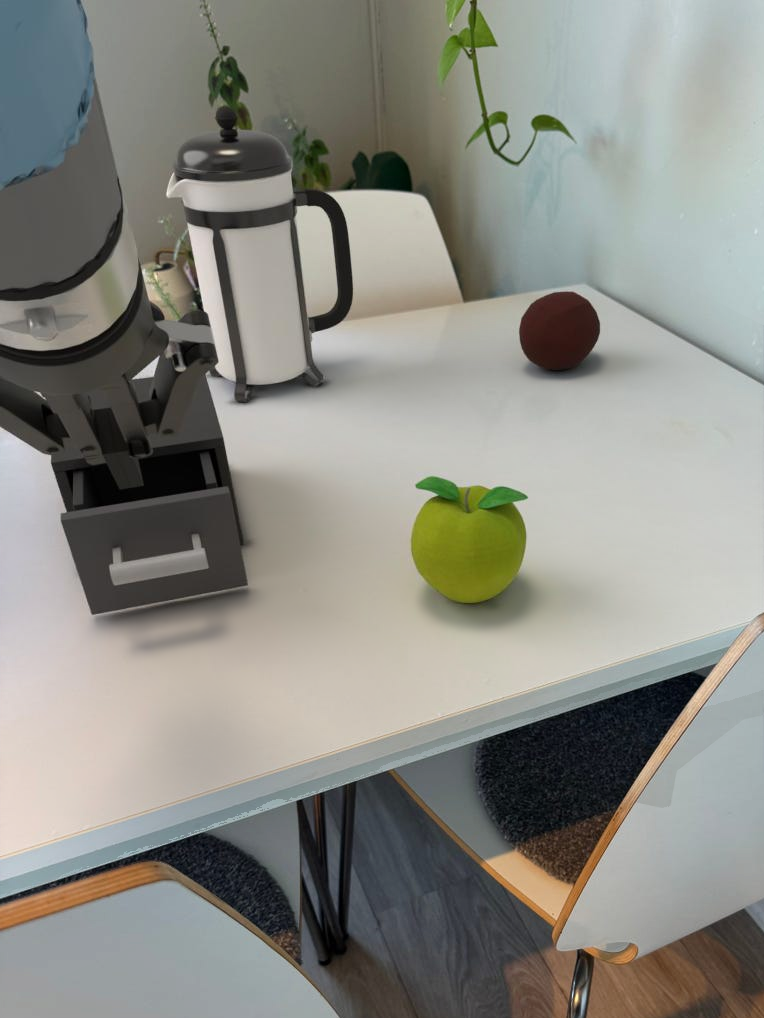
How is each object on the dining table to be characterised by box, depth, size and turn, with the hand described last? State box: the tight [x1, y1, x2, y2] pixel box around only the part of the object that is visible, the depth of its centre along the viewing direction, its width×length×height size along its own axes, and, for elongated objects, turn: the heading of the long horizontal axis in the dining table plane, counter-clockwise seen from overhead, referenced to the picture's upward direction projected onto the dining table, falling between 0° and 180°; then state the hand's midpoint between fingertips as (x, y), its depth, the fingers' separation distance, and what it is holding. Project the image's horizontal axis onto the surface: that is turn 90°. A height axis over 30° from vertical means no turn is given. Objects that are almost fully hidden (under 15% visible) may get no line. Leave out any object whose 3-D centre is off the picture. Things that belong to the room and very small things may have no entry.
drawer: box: [60, 449, 249, 616], centre depth 77 cm, size 19×13×9 cm, turn 19°
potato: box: [518, 290, 601, 371], centre depth 115 cm, size 9×12×9 cm
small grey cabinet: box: [50, 374, 245, 546], centre depth 86 cm, size 16×14×11 cm
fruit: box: [410, 475, 529, 604], centre depth 75 cm, size 9×9×10 cm
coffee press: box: [166, 105, 354, 403], centre depth 107 cm, size 17×16×30 cm
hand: (127, 467), depth 59 cm, fingers closed
